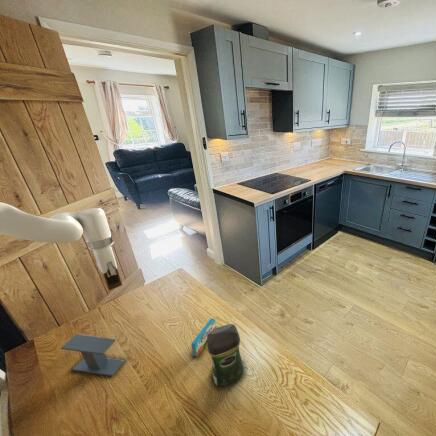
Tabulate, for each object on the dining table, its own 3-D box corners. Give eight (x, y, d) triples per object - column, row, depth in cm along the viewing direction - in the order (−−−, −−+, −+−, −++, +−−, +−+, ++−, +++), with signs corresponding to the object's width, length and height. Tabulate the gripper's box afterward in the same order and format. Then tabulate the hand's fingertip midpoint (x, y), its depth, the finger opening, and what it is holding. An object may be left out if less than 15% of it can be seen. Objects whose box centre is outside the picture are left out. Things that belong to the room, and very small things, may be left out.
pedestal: (73, 371, 77) (60, 347, 72) (87, 356, 81) (76, 334, 77) (112, 377, 75) (102, 353, 71) (124, 362, 80) (115, 339, 76)
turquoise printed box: (213, 329, 93) (211, 317, 90) (216, 330, 93) (214, 318, 90) (193, 356, 82) (190, 344, 80) (197, 357, 82) (194, 345, 79)
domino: (109, 290, 93) (103, 273, 90) (107, 288, 95) (102, 271, 91) (122, 285, 97) (117, 268, 93) (120, 283, 98) (115, 267, 95)
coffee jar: (239, 356, 82) (235, 317, 75) (246, 377, 76) (242, 336, 69) (210, 369, 78) (203, 328, 71) (215, 392, 72) (208, 350, 64)
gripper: (82, 237, 90) (97, 277, 97) (92, 253, 80) (107, 296, 87) (106, 231, 95) (118, 269, 102) (118, 245, 85) (130, 286, 92)
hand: (113, 281), depth 95 cm, fingers closed on domino, 2 cm apart
